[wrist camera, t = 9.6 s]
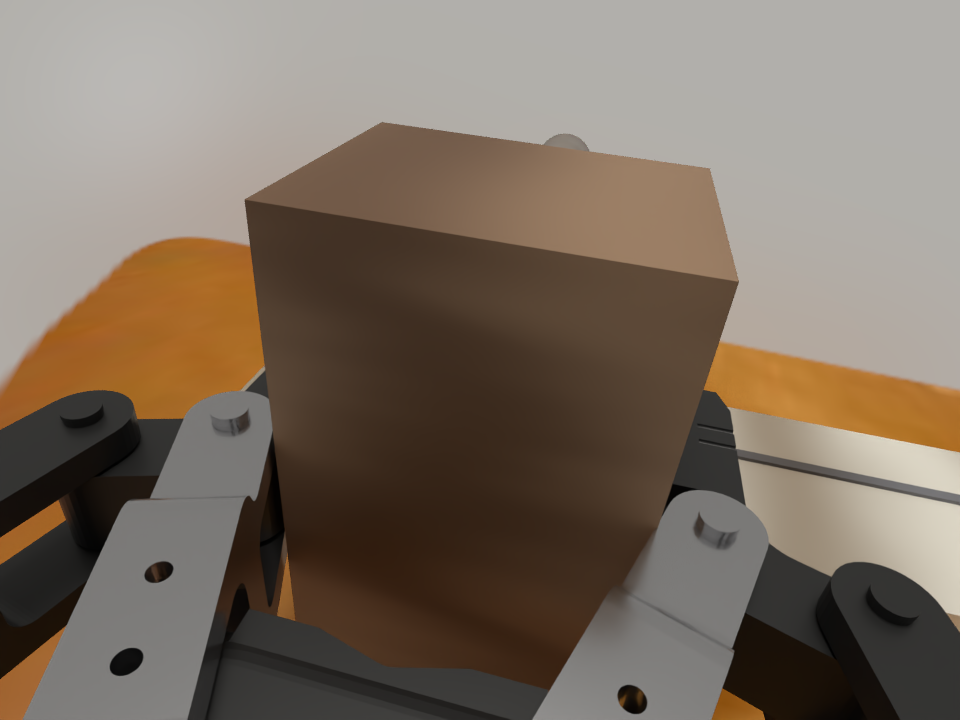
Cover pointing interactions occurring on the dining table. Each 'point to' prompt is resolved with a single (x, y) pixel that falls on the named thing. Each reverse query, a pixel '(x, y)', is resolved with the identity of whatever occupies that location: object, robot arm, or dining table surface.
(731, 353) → the dining table surface
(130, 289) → the dining table surface
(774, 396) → the dining table surface
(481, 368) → the upright wooden pillar
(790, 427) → the batten
